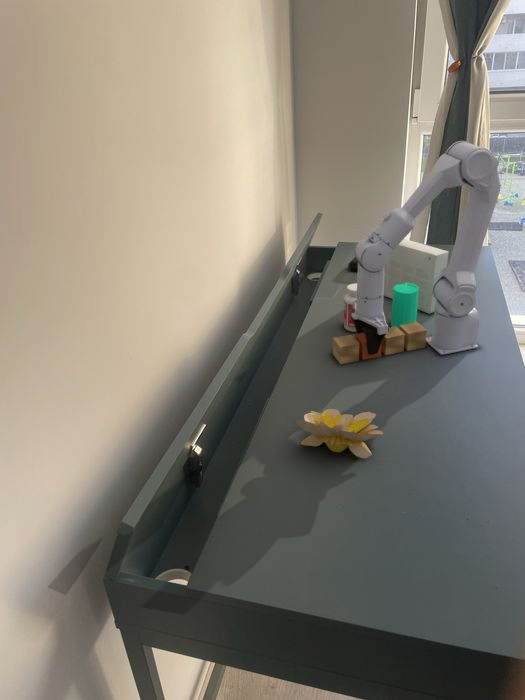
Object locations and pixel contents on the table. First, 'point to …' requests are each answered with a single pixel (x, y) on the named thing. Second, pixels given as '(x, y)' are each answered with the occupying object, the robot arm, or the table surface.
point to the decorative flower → (340, 431)
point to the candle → (404, 304)
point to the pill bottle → (349, 307)
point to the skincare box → (415, 270)
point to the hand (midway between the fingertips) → (368, 348)
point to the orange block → (365, 347)
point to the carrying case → (353, 264)
